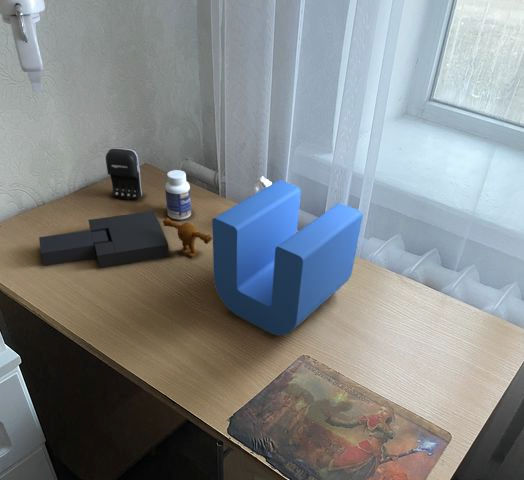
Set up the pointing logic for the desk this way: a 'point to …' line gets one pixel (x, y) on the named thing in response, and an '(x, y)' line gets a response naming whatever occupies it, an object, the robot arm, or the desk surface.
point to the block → (281, 257)
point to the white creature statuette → (261, 184)
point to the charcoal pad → (70, 246)
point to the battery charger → (124, 173)
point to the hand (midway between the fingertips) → (36, 82)
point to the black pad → (130, 239)
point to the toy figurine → (187, 236)
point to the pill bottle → (178, 195)
